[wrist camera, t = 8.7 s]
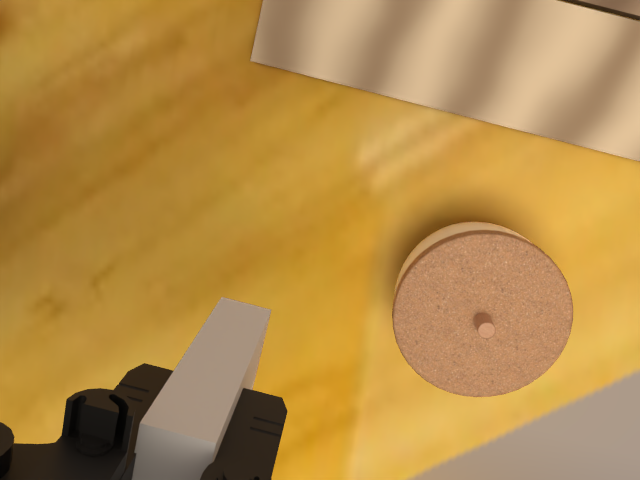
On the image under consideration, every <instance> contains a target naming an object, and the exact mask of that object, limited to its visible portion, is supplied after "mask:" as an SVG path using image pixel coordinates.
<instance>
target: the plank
mask: <svg viewBox="0 0 640 480" xmlns="http://www.w3.org/2000/svg"><path fill="white" fill-rule="evenodd" d="M250 61H253V62H257V63H261V64H264V65H268V66H272V67H276V68H280V69H284V70H288V71H292V72H295V73H299V74H303V75H307V76H311V77H315V78H319V79H323V80H326V81H330V82H334V83H338V84H342V85H346V86H350V87H354V88H357V89H361V90H365V91H369V92H373V93H377V94H381V95H385V96H388V97H392V98H396V99H400V100H404V101H408V102H412V103H416V104H419V105H423V106H427V107H431V108H435V109H439V110H443V111H447V112H450V113H454V114H458V115H462V116H466V117H470V118H474V119H478V120H481V121H485V122H489V123H493V124H497V125H501V126H505V127H509V128H512V129H516V130H520V131H524V132H528V133H532V134H536V135H540V136H543V137H547V138H551V139H555V140H559V141H563V142H567V143H571V144H574V145H578V146H582V147H586V148H590V149H594V150H598V151H602V152H605V153H609V154H613V155H617V156H621V157H625V158H629V159H633V160H636V161H640V21H636V20H632V19H628V18H624V17H620V16H616V15H612V14H608V13H604V12H600V11H597V10H593V9H589V8H585V7H581V6H577V5H573V4H569V3H565V2H561V1H557V0H263V3H262V8H261V13H260V17H259V22H258V27H257V32H256V36H255V41H254V46H253V51H252V55H251V60H250Z"/></svg>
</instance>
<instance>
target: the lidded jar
mask: <svg viewBox="0 0 640 480" xmlns="http://www.w3.org/2000/svg"><path fill="white" fill-rule="evenodd" d="M392 317H393V329H394V334H395V338H396V342H397V344H398V346H399V349H400V351H401V353H402V355H403V356H404V358H405V359H406V361H407V362H408V364H409V365H410V366H411V367H412V368H413V369H414V370H415V372H416V373H417V374H419V375H420V376H421V377H422V378H424V379H425V380H426V381H428V382H429V383H431V384H433V385H434V386H436V387H438V388H440V389H443V390H445V391H448V392H450V393H454V394H458V395H463V396H472V397H490V396H496V395H501V394H506V393H509V392H512V391H515V390H518V389H520V388H522V387H524V386H526V385H528V384H530V383H531V382H533V381H534V380H536V379H537V378H539V377H540V376H541V375H542V374H544V373H545V372H546V371H547V370H548V369H549V368H550V367H551V366H552V365H553V363H554V362H555V361H556V360H557V359H558V357H559V356H560V354H561V352H562V351H563V349H564V347H565V345H566V343H567V340H568V338H569V335H570V332H571V327H572V321H573V304H572V298H571V293H570V290H569V287H568V284H567V281H566V280H565V278H564V276H563V274H562V273H561V271H560V269H559V268H558V267H557V266H556V264H555V263H554V262H553V261H552V260H551V258H550V257H549V256H548V255H547V254H545V253H544V252H543V251H542V250H541V249H540V248H538V247H537V246H535V245H534V244H533V243H531V242H530V241H529V240H528V239H526V238H525V237H523V236H521V235H520V234H518V233H516V232H515V231H513V230H510V229H508V228H505V227H503V226H500V225H496V224H491V223H486V222H462V223H457V224H453V225H449V226H446V227H444V228H441V229H439V230H437V231H435V232H434V233H432V234H430V235H429V236H427V237H426V238H425V239H424V240H422V241H421V242H420V243H419V244H418V245H417V246H416V247H415V248H414V249H413V250H412V252H411V253H410V254H409V256H408V257H407V259H406V260H405V262H404V264H403V266H402V268H401V270H400V272H399V276H398V279H397V283H396V286H395V293H394V301H393V311H392Z"/></svg>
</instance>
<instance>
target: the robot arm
mask: <svg viewBox="0 0 640 480" xmlns="http://www.w3.org/2000/svg"><path fill="white" fill-rule="evenodd" d="M270 314H271V310H270V309H266V308H262V307H259V306H255V305H251V304H247V303H243V302H239V301H235V300H232V299H228V298H224V297H221V299H220V300H219V302H218V303H217V305H216V307H215V308H214V310H213V311H212V313H211V314H210V316H209V317H208V319H207V320H206V322H205V324H204V325H203V327H202V328H201V330H200V331H199V333H198V334H197V336H196V337H195V339H194V340H193V342H192V344H191V345H190V347H189V348H188V350H187V351H186V353H185V354H184V356H183V357H182V359H181V360H180V362H179V364H178V365H177V367H176V368H175V370H174V371H172V370H168V369H164V368H160V367H157V366H153V365H149V364H145V363H144V364H142V365H140V366H138V367H136V368H134V369H132V370H130V371H128V372H127V374H126V375H125V376H124V378H123V379H122V380H121V381H120V383H119V385H117V386H116V388H115V389H114V390H108V389H101V388H100V389H87V390H84V391H81V392H77V393H75V394H73V395H72V396H71V397H69V398H68V399H67V401H66V408H65V415H64V423H63V430H62V436H61V437H60V438H59V439H58V440H57V442H55V443H50V444H17V443H14V435H13V433H12V430H11V429H10V428H9V427H7V426H6V425H5V424H3V423H1V422H0V480H271V476H272V472H273V468H274V464H275V460H276V456H277V451H278V447H279V443H280V439H281V435H282V431H283V427H284V423H285V419H286V415H287V409H286V407H285V404H284V402H283V399H282V398H281V397H277V396H273V395H269V394H265V393H262V392H258V391H254V390H252V389H253V385H254V380H255V376H256V372H257V368H258V364H259V360H260V355H261V351H262V347H263V343H264V339H265V334H266V330H267V326H268V322H269V318H270Z"/></svg>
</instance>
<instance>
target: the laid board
mask: <svg viewBox="0 0 640 480" xmlns="http://www.w3.org/2000/svg"><path fill="white" fill-rule="evenodd" d="M562 1H566V2H570V3H574V4H578V5H582V6H586V7H590V8H594V9H597V10H601V11H605V12H609V13H613V14H617V15H621V16H625V17H629V18H633V19H637V20H640V0H562Z"/></svg>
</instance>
